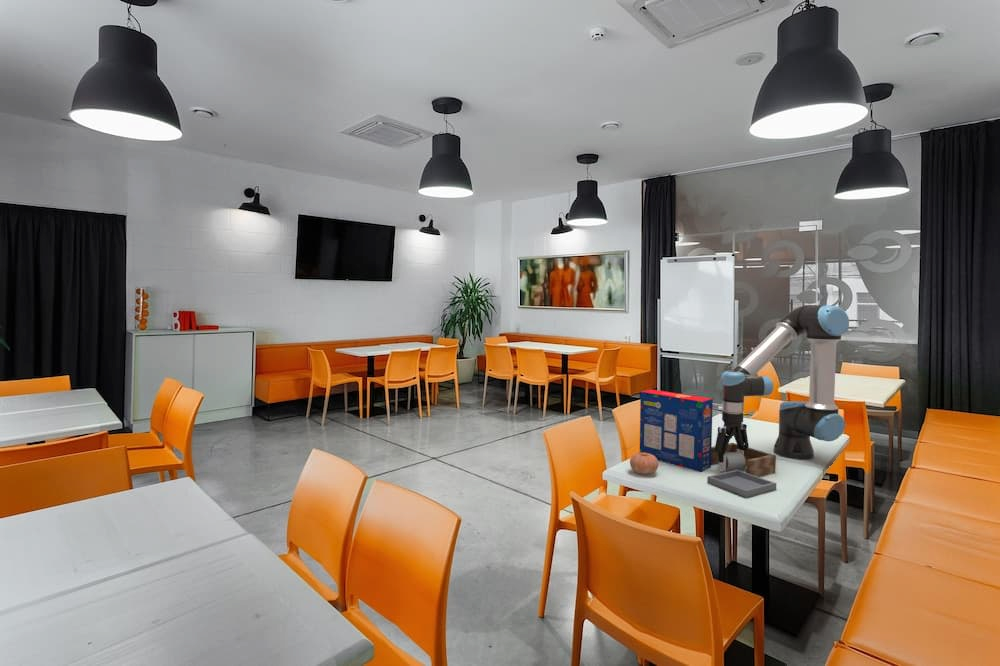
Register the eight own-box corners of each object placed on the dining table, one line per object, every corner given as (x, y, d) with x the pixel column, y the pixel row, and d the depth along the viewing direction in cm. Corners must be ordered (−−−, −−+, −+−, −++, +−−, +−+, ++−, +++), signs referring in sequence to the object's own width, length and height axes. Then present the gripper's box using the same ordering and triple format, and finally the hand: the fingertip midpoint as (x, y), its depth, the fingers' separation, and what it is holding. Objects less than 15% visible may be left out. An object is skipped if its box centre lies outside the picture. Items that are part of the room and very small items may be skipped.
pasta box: (710, 467, 204) (712, 398, 202) (700, 472, 199) (702, 401, 197) (650, 451, 225) (651, 389, 223) (639, 455, 220) (640, 391, 218)
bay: (731, 459, 214) (732, 442, 214) (775, 473, 197) (776, 455, 196) (707, 464, 208) (707, 447, 207) (749, 479, 190) (750, 461, 190)
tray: (736, 475, 194) (737, 469, 194) (776, 490, 180) (776, 483, 180) (707, 483, 187) (707, 476, 187) (745, 498, 173) (746, 491, 172)
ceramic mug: (747, 473, 196) (748, 454, 196) (727, 474, 195) (728, 455, 195) (732, 465, 207) (732, 446, 206) (713, 466, 206) (713, 447, 205)
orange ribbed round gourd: (624, 470, 201) (624, 450, 200) (646, 467, 205) (647, 447, 204) (640, 479, 191) (641, 458, 190) (664, 475, 195) (664, 455, 194)
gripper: (743, 407, 207) (741, 461, 208) (704, 412, 197) (703, 469, 198) (760, 410, 200) (758, 466, 202) (721, 416, 190) (719, 475, 192)
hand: (731, 468), depth 200 cm, fingers closed on ceramic mug, 9 cm apart
